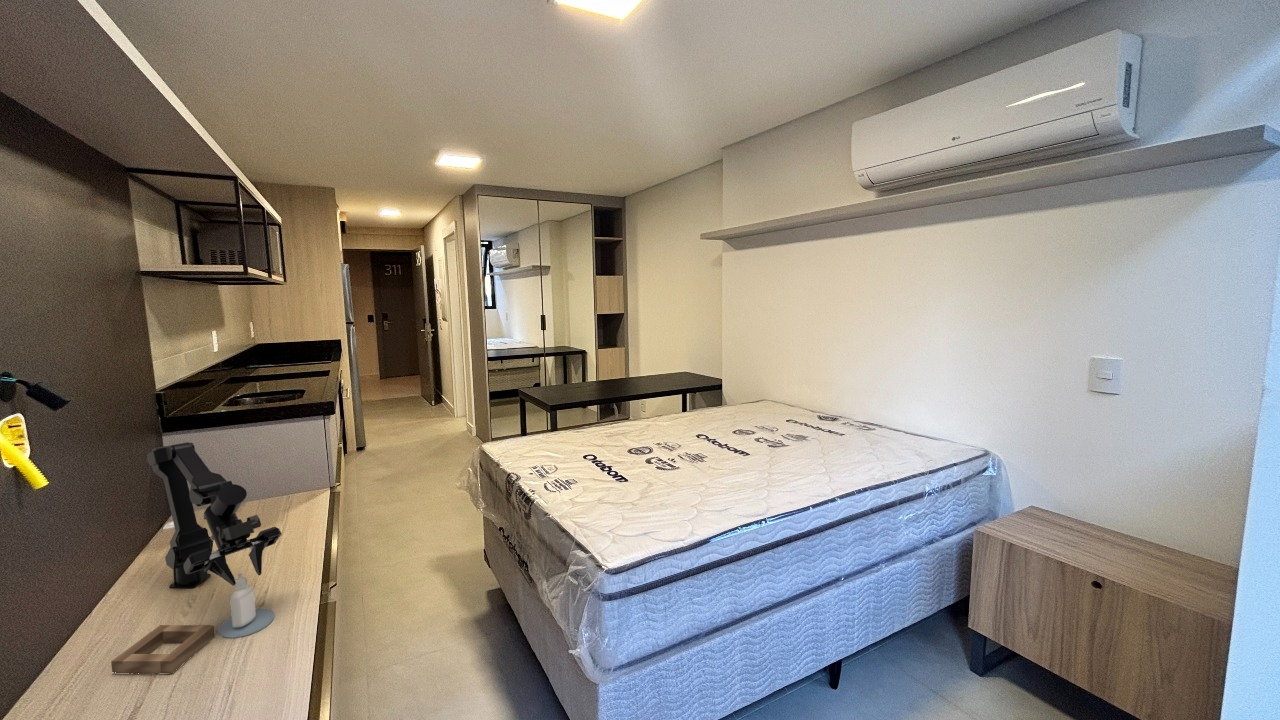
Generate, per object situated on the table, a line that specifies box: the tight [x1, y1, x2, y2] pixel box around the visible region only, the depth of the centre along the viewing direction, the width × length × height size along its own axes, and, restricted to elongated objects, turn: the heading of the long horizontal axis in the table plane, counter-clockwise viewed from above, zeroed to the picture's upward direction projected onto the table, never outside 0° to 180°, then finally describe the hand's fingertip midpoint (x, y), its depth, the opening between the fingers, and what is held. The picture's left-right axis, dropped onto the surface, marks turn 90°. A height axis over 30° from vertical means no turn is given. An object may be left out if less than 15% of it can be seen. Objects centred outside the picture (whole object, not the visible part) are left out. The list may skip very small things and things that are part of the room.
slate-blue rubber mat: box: [217, 608, 275, 639], centre depth 126 cm, size 11×11×1 cm
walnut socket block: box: [110, 624, 216, 675], centre depth 115 cm, size 12×12×3 cm
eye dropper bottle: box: [229, 573, 256, 628], centre depth 126 cm, size 4×6×12 cm
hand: (247, 579), depth 124 cm, fingers open, 5 cm apart
